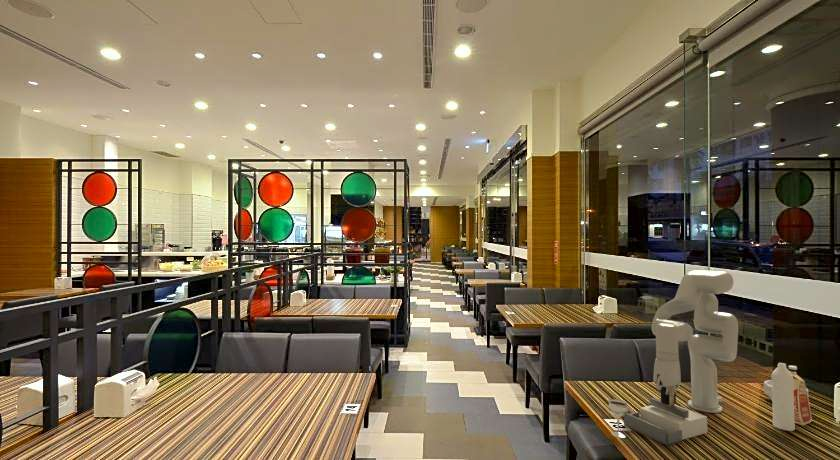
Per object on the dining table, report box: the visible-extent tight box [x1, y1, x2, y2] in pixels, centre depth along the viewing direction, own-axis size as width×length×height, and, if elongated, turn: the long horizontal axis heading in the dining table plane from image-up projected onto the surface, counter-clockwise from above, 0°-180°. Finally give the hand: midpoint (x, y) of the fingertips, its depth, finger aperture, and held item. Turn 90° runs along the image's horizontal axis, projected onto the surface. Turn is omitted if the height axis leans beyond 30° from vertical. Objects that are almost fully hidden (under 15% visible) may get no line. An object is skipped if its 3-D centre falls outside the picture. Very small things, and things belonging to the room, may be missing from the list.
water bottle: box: [771, 362, 798, 432], centre depth 161 cm, size 9×6×25 cm
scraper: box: [649, 385, 689, 418], centre depth 160 cm, size 3×14×10 cm, turn 23°
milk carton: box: [789, 370, 813, 426], centre depth 170 cm, size 9×9×20 cm
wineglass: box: [608, 398, 629, 439], centre depth 155 cm, size 7×7×12 cm
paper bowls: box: [763, 379, 810, 401], centre depth 187 cm, size 15×15×8 cm
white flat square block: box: [639, 404, 708, 441], centre depth 161 cm, size 16×16×6 cm
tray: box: [623, 411, 683, 447], centre depth 156 cm, size 8×18×5 cm, turn 23°
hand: (668, 402), depth 160 cm, fingers closed on scraper, 2 cm apart
